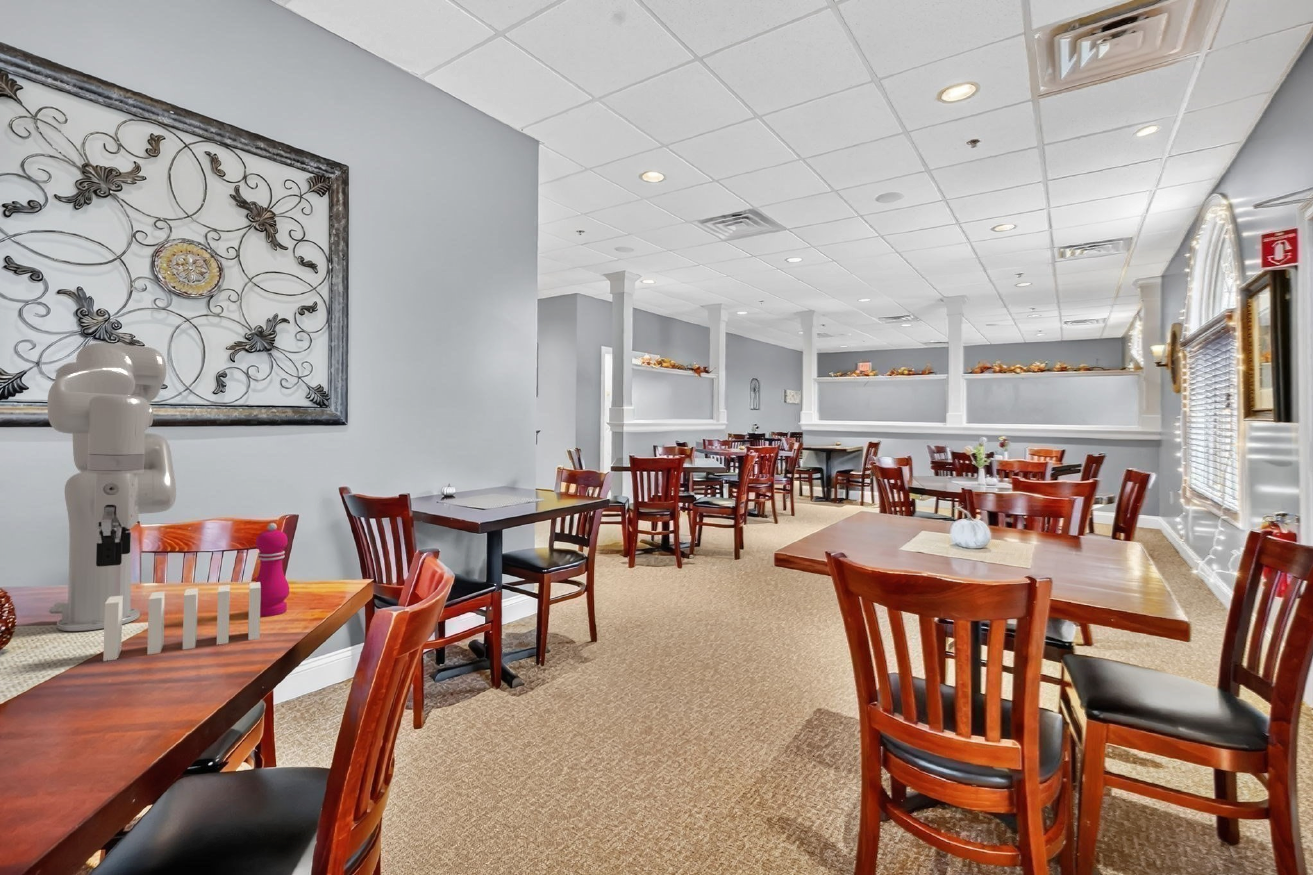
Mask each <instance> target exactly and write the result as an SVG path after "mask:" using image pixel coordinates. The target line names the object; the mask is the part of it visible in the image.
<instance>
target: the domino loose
mask: <svg viewBox="0 0 1313 875" xmlns="http://www.w3.org/2000/svg"><path fill="white" fill-rule="evenodd" d="M122 606H123V596H113V597H109V598H108V600H107V601H106V603H105V619H104V628H103V658H102V660H103V662H106V661H107V660H108V661H114V660H117V658H118V659H119V656H120V654H121V651H122V641H123V640H122V637H123V636H122V634H123V624H122Z"/></svg>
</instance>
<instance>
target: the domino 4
mask: <svg viewBox="0 0 1313 875" xmlns="http://www.w3.org/2000/svg"><path fill="white" fill-rule="evenodd" d="M248 586H249V587H248V622H247V624H248V626H247V627H248V628H247V629H248V630H247V631H248V634H247V636H248V637H247V638H248V641H253V640H259V639H260V637H261V635H260V634H261V633H260V632H261V616H260V601H261V585H260V582H249V585H248Z"/></svg>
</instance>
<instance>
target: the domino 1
mask: <svg viewBox="0 0 1313 875" xmlns="http://www.w3.org/2000/svg"><path fill="white" fill-rule="evenodd" d="M165 596H166V595H165V591H155V592H151V594H150V596H149V597H148V614H147V615H148V616H147V619H148V620H147V651H146V652H147V656H148V655H156V654H161V653H162V649H163V646H164V640H165V638H164V634H165V629H164V628H165V598H166V597H165Z"/></svg>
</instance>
